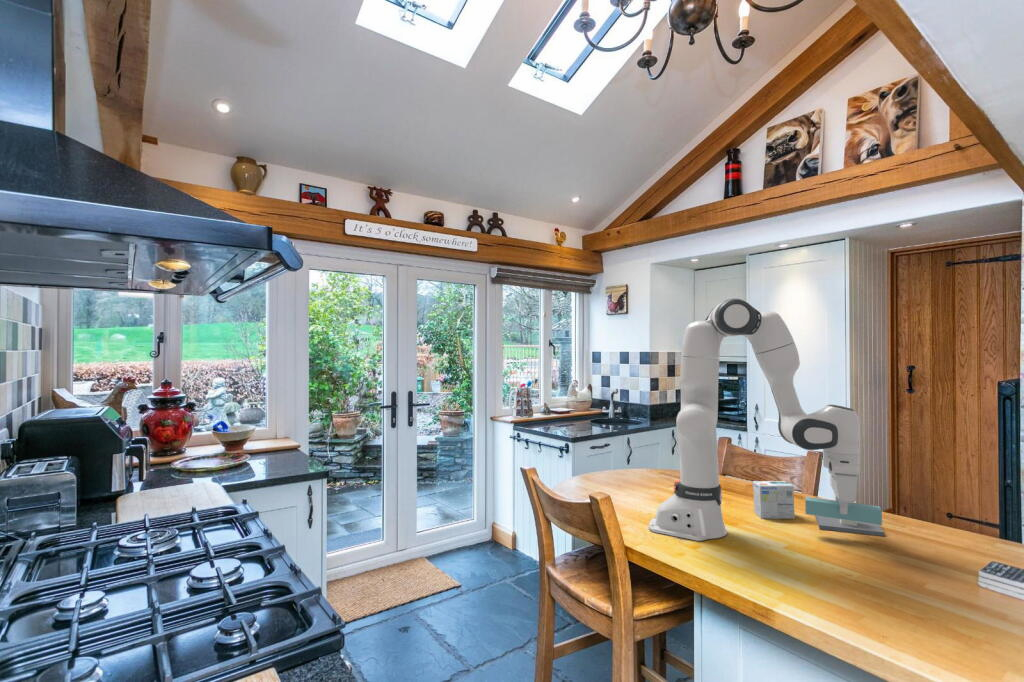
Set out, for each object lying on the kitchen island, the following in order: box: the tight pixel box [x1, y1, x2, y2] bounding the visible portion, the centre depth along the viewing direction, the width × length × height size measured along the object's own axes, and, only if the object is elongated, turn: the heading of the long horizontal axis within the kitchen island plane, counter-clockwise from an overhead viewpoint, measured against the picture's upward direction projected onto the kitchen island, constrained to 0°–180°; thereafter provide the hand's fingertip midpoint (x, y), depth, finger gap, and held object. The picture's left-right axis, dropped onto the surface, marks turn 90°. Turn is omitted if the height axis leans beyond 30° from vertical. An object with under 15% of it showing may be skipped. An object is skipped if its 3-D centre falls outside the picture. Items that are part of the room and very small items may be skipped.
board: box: [814, 491, 885, 537], centre depth 158 cm, size 16×22×8 cm
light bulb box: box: [752, 480, 796, 520], centre depth 165 cm, size 11×7×11 cm, turn 84°
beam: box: [804, 496, 883, 526], centre depth 143 cm, size 18×4×4 cm, turn 60°
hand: (841, 510), depth 143 cm, fingers closed on beam, 4 cm apart
